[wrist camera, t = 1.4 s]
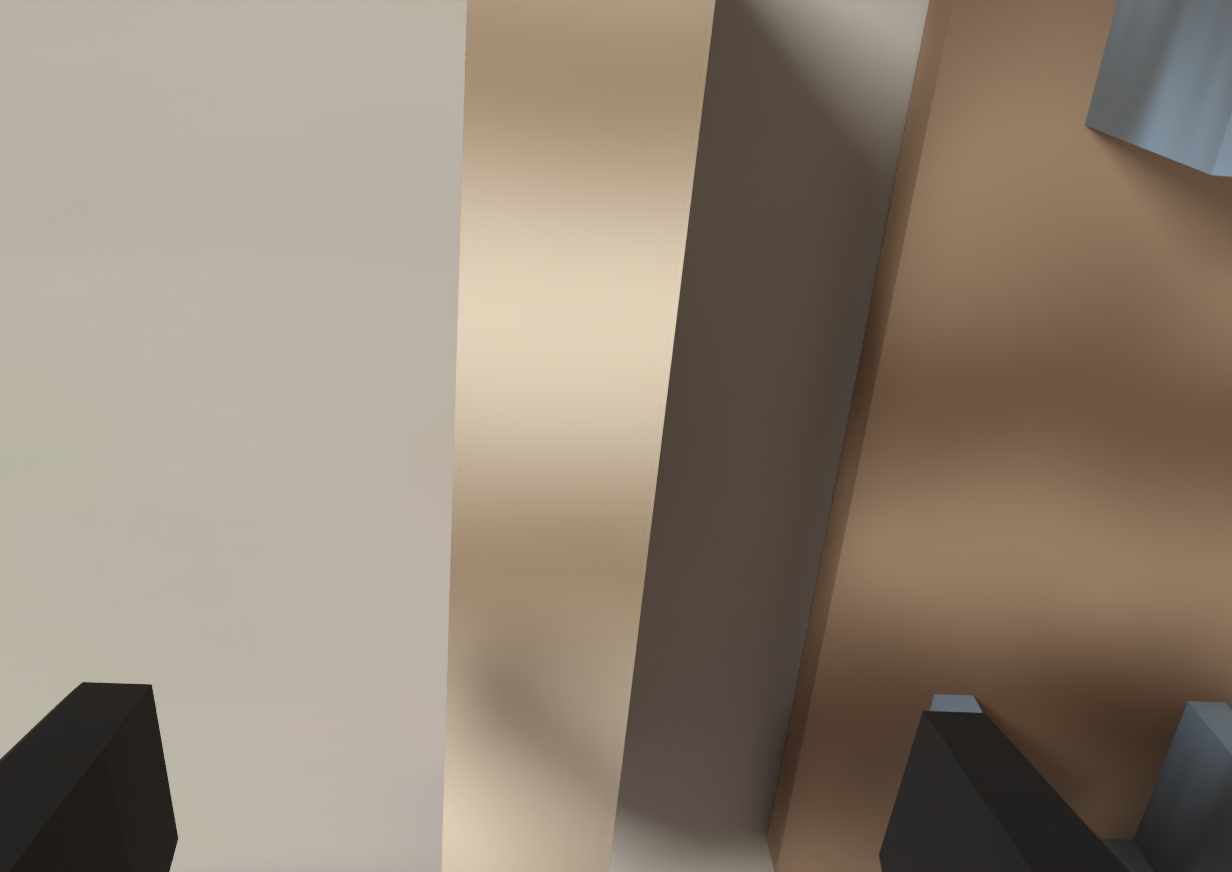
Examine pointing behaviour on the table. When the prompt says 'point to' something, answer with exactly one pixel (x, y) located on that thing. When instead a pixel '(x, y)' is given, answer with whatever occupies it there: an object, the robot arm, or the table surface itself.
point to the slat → (560, 407)
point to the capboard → (1040, 439)
